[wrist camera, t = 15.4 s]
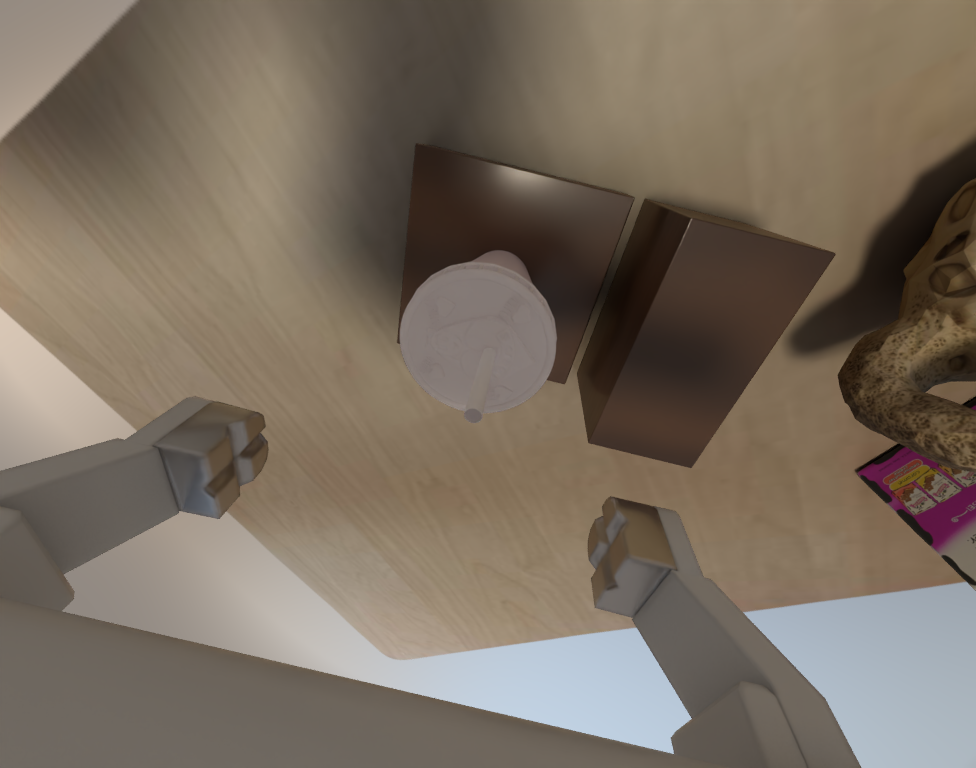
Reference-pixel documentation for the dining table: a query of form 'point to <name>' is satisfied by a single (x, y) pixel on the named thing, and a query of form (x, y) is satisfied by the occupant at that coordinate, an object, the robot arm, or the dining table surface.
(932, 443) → the teapot
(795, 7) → the dining table surface
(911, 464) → the candy bar box
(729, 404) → the step shelf
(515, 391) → the smoothie
